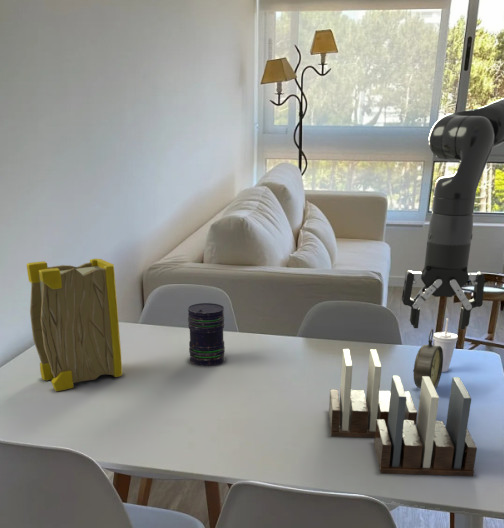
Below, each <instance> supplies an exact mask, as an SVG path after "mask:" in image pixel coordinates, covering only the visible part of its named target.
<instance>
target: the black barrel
mask: <svg viewBox="0 0 504 528" xmlns="http://www.w3.org/2000/svg"><path fill="white" fill-rule="evenodd" d="M187 312H188V314H187V315H188V316H187V323H188V325H187V326H188V329H189V342H188V343H189V345H188V352H189V357H190V358H189V362H190V363H191V364H192V365H194V366H197V367H198V366H199V367H214V366H215V367H216V366H219V365H222V364H223V363H224V362H225V360H226V359H225V351H226V347H225V340H224V329H225V308H224V306H223V305H221V304H218V303H213V302H202V303H195V304H191V305H190V306H188V307H187Z"/></svg>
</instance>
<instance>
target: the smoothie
mask: <svg viewBox="0 0 504 528" xmlns="http://www.w3.org/2000/svg"><path fill="white" fill-rule="evenodd" d="M449 319H450V318H446V320H445V328H444V331H437V332H435V333H434V332H433V337H432V340H433V345H435V346H441V348H442V350H443V367H442V373H447V372H449V370H450V366H451V363H452V358H453V354H454V351H455V346H456V343H457V341H458V340H459V339H458V338H459V336H458V334H456V333H453V332H450V331H448V328H449Z"/></svg>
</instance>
